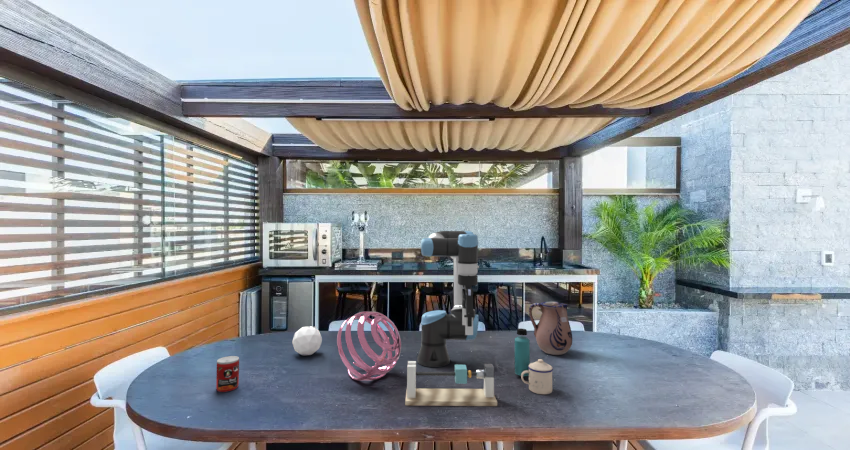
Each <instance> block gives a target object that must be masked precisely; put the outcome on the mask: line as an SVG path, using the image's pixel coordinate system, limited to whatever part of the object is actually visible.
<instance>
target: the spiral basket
mask: <svg viewBox="0 0 850 450" xmlns="http://www.w3.org/2000/svg"><path fill="white" fill-rule="evenodd" d="M370 316H371V317H374V318H373V319H372V318H370ZM355 320H358V323H357V326H356V329H357V337H358V338H357V339H358V340H359V344H360V345H361V348H362V349H363V352H364V353H365V354H366V355H367V356H368V357H369V358H370V360H373V361H374V362H375V364H374V365H373V366H370V365H368V364H367V363H366V362H365V361H364V360H363V359H362V358H361V357H360V355H359V354H358V352H357V350H356V349H355V346H354V344H353V340H352V339H353V338H352V325H353V323H354V321H355ZM365 322H366V323H368V324H369V325H370V331H371V332H370V333H371V336H372V338H373V340H374V342H375V344H376V345H378V346H379V347H380V348H381V349H382V353H381V354H380V355H379V354H377V353H376V352H375V351H374V350H373V349H372V348H371V346H370V345H369V343H368V341H367V338H366V335H365V329H364V328H365ZM380 322H381V323H382V324H383V325H384V326H385V327H386V329H387V330H388V332H389V334H390V336H391V338H392V341H393V343H392V344H391V342H390V337H388V335H387V334H386V332H385V330H384V329H383V328H382V326H381V325H380V324H379V323H380ZM346 323H347V324H346ZM345 325H346V327H345ZM391 326H392V327H391ZM344 327H345V333H344V335H345V344H346V346H347V350H348V351H349V354H350V356H351V358H352V359H353V361H354V362H352V364H353V365H354V366H355V367H358V368H360V369H362V370H364V371H365V372H366V373H365V374H363V373H360V372H359V371H358V370H356V368H354V366H352V365H351V363H350V361H349V360H348V359H347V357H346V355H345V353H344V350H343V346H342V345H343V344H342V333H343V328H344ZM393 329H394V330H393ZM401 340H402V339H401V335H400V333H399V330H398V328H397V326H396V325H395V323H394V322H393V321H392V320H391V319H390V318H389V317H387V316H386V315H384V314H383V313H381V312H378V311H360V312H357V313H355V314H354V315H352V316H349V317H347V319H345V320H344V321H343V322H342V323H341V324H340V327H339V329H338V331H337V337H336V344H337V345H336V347H337V350H338V354H339V356H340V357H339V358H340V360H341V361H342V363H343V365H344V366H345V367H346V370H347V373H348V375H349V377H350V378H351V379H353V380H354V381H371V382H373V381H377V380H379V379H381V378H383V377H384V376H385V375H386V374H388V373H389V372H390V371H392V370H393V368H395V366H396V364H397V362H398V360H399V358H400V355H401V353H402V352H401V351H402V341H401ZM394 351H395V355H394V356H393V352H394ZM386 354H387V357H386ZM374 376H375V377H374Z"/></svg>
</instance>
